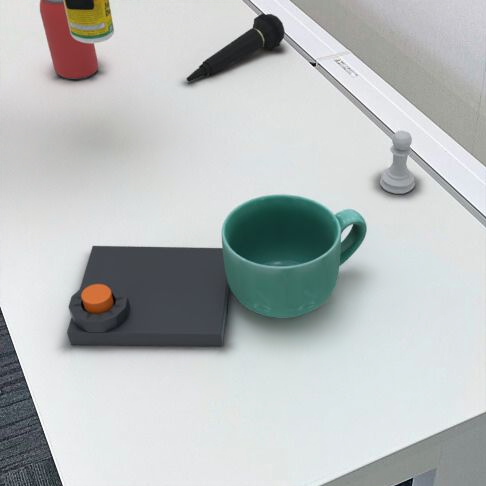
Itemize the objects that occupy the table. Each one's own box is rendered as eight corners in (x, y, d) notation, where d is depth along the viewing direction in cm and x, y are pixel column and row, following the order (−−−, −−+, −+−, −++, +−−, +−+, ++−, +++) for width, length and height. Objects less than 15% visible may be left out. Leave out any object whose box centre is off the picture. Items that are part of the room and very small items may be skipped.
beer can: (77, 85, 117) (59, 6, 108) (46, 72, 119) (25, -6, 110) (108, 68, 121) (93, -10, 112) (77, 56, 123) (60, -21, 114)
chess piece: (420, 182, 104) (428, 130, 99) (403, 199, 102) (409, 146, 96) (391, 170, 106) (396, 118, 100) (373, 186, 103) (377, 133, 97)
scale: (70, 344, 82) (63, 321, 79) (95, 257, 91) (89, 234, 88) (222, 346, 82) (220, 323, 80) (231, 260, 92) (230, 237, 89)
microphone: (199, 104, 121) (289, 48, 129) (200, 77, 116) (293, 20, 124) (175, 82, 122) (266, 28, 130) (175, 54, 116) (269, 0, 125)
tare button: (81, 314, 80) (78, 303, 79) (87, 294, 82) (84, 283, 81) (110, 314, 80) (108, 303, 79) (115, 294, 82) (113, 284, 81)
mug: (246, 345, 83) (242, 280, 76) (213, 271, 90) (206, 206, 83) (386, 308, 88) (394, 243, 81) (343, 241, 95) (347, 177, 88)
